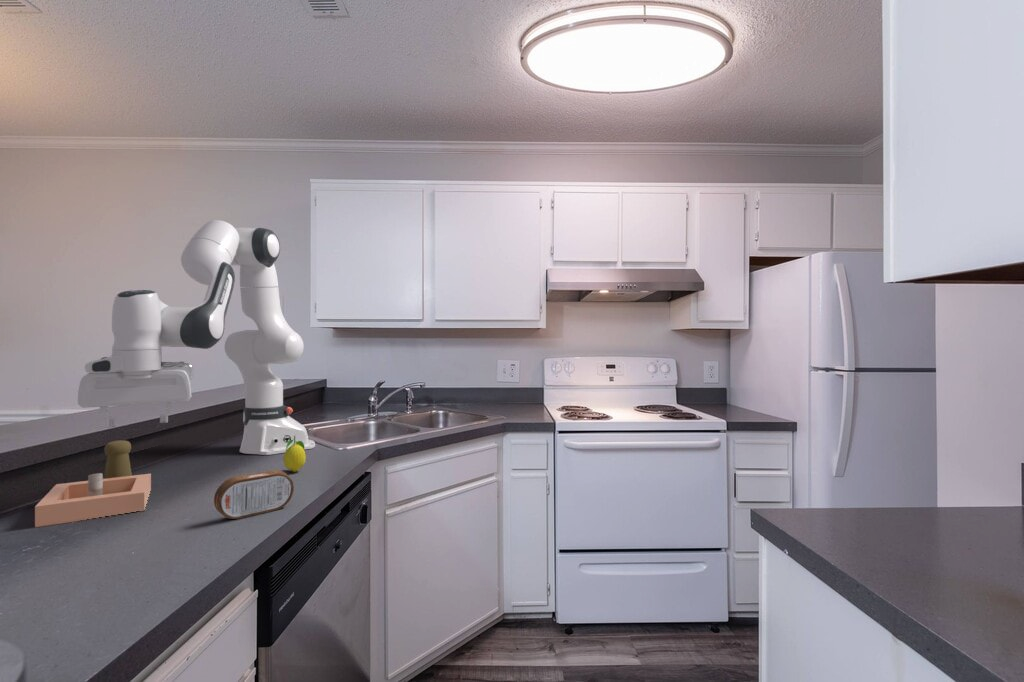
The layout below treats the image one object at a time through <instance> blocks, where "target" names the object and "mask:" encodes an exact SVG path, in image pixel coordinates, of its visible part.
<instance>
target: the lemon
mask: <svg viewBox="0 0 1024 682" xmlns="http://www.w3.org/2000/svg"><path fill="white" fill-rule="evenodd" d="M292 442H293V440H290V441H288V443H287V446H286V449H287V448H288V446H289V445H290V444H291V443H292ZM295 442H296V441H295V435H294V444H293V445H292V446H290V447H289V448H288V449H287V450H285V451H286V452H284V453H283V465H284V467H285V468H286V469H288V470H290V471H292V472H293V473H297V471H298V470H299V469H301V468H303V466H305V463H306V459H307V457H306V451H305V450H304V443H303V442H302V441H298V442H296V443H295Z"/></svg>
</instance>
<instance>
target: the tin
mask: <svg viewBox="0 0 1024 682" xmlns="http://www.w3.org/2000/svg"><path fill="white" fill-rule="evenodd" d="M294 490H295V485H294V481H293V480H292V478H291V476H289V475H288V474H287V473H286V472H285V471H283V470H280V469H273V470H272V469H271V470H265V471H260V472H259V471H258V472H254V473H248V474H241V475H239V474H238V475H235V476H232V477H230V478H228V479H226V480H224V482H222V483H221V484H220V485H219V486H218V488H217V489H216V492H215V494H214V497H213V504H214V508H215V509H216V510H217V512H218V513H220V514H221V515H222V516H223V517H225V518H227V519H231V520H237V519H243V518H248V517H252V516H256V515H262V514H266V513H271V512H275V511H278V510H280V509H283V508H284V507H285V506H286V505H287V504H289V502H290V501H291V499H292V497H293V496H294V495H293V494H294Z"/></svg>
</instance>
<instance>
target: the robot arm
mask: <svg viewBox="0 0 1024 682" xmlns="http://www.w3.org/2000/svg"><path fill="white" fill-rule="evenodd" d="M280 251H281V243H280V239H279V238H278V236H277V235H276V233H275V232H274V231H273V230H271V229H267V228H264V227H258V228H253V227H236V228H235V227H234V225H232V224H231V223H229V222H227V221H225V220H221V219H220V220H219V219H213V220H209V221H208V222H206V223H204V225H202V226H201V227H200V228H199V229H198V230H197V231H196V232H195V233H194V235H193V236H192V237H191V239H190V240H189V241H188V243H187V244H186V245H185V247H184V249H183V251H182V253H181V257H180V263H181V266H182V269H183V270H184V272H185V273H186V274H187V275H188V276H189V277H190V278H191V279H192V280H194V281H196V282H197V283H199V284H202V285H205V286H207V288H206V289H207V290H206V293H205V296H204V298H203V301H202V303H200V304H197V305H194V306H170V305H168V304H166V303H164V302H163V301H161V299H160V298H159V294H158V293H157V291H154V290H149V289H147V290H146V289H139V290H126V291H122V292H119V293H117V294H116V295H115V297H114V300H113V305H112V310H111V311H112V313H111V331H112V335H113V338H114V340H113V344H112V346H111V347H112V348H111V352H112V353H111V356H108V357H107V356H105V357H101V358H99V359H95V360H92V361H91V360H90V361H89V362H87V363H85V365H84V369H85V372H86V374H85V375H83V376H82V377H81V379H80V381H79V384H78V391H77V404H78V405H79V406H80V407H81V408H82V409H83V408H85V409H86V408H99V413H100V414H101V416H102V417H103V418H104V419H105V424H106V428H113V427H116V426H117V421H116V420H117V418H116V417H111V416H110V414H109V413H108V411H110V407H118V406H134V405H135V406H136V405H151V404H165V407H166V408H167V410H166V411H165V412H164V413H163V414H160V415H159V423H160V424H165V423H166V424H167V423H168V422H169V415H170V413H171V411H172V410H173V409H174V404H175V403H182V402H183V403H185V402H189V401H190V400H191V399H192V386H191V380H192V379H193V377H194V368H193V366H192V365H191V364H190V363H187V362H185V361H162V360H163V359H162V358H163V357H162V350H163V349H162V347H165V348H166V347H170V348H193V349H203V350H204V349H205V350H207V349H211V348H212V347H214V346H216V344H218V343H219V342H220V340H221V339H222V337H223V335H224V332H225V324H226V316H227V313H228V310H229V309H228V308H229V305H230V301H231V298H232V295H233V291H234V288H235V287H234V286H235V281H236V280H235V279H236V277H235V275H236V274H235V271H234V269H233V266H239V267H240V268H239V287H240V290H239V291H240V301H241V309H242V312H243V314H244V315H245V316H247V317H248V318H250V319H252V321H253V322H254V323H255V325H256V326H257V327H256V328H257V329H244V330H239V331H235V332H232V333H230V334H229V335H228V336H227V338H226V340H225V342H224V352H225V354H226V356H227V358H228V359H230V360H231V361H232V362H233V363H234V364H235V365H236V366H237V369H238V370H239V372H240V374H241V376H242V379H243V384H244V397H245V398H244V400H245V404H244V405H245V406H244V407H243V410H242V411H243V414H242V422H243V425H244V428H243V435H242V441H241V445H240V448H239V453H242V454H247V455H260V456H261V455H262V456H270V455H277V454H285V452H286V451H285V450H287V449H288V448H289V447H290V446H292V445H293V444H294V435H295V441H296V442H298V441H302V442H303V443H304V451H305V450H311V449H314V448H315V447H316V443H315V441H314V440H313V439H310V438H309V435H308V431H307V429H306V426H304V425H303V424H302V423H300V422H299V421H297V420H295V419H294V418H293V417H292V416H290V415H291V414H292V413H293V412H294V410H293V408H292V407H290V406H286V405H284V383H283V381H282V379H281V378H280V377H278V376H277V375H276V374H274V373H273V372H272V370H271V368H270V365H271V364H273V365H275V364H276V365H283V364H289V363H294V362H297V361H299V359H300V358H301V357H302V356H303V353H304V349H305V344H304V343H305V342H304V340H303V338H302V336H301V334H299V333H297V332H296V331H295V330H294V329H293V328H292V327H291V326H290V325H289V323H288V322H287V321H286V318H285V316H284V314H283V311H282V306H281V298H280V291H279V290H280V287H279V279H278V273H277V268H276V266H275V262H276V261H277V260H278V257H279V256H280ZM290 440H293V442H292V443H291V444H290V445H289V446H288V448H287V449H286V446H287V443H288V441H290ZM296 442H295V443H296Z"/></svg>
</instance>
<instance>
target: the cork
mask: <svg viewBox="0 0 1024 682" xmlns="http://www.w3.org/2000/svg"><path fill="white" fill-rule="evenodd" d="M103 450H104V453H105V455H106V456H107V457H106V460H105V461H106V462H105V468H104V474H103V479H107V478H116V477H125V476H133V474H132V469H131V462H130V454H129V453H130V452H131V450H132V444H131V442H130V441H129V440H114V441H113V440H112V441H110V442H108V443H106V445H105V446H104V449H103Z"/></svg>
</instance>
